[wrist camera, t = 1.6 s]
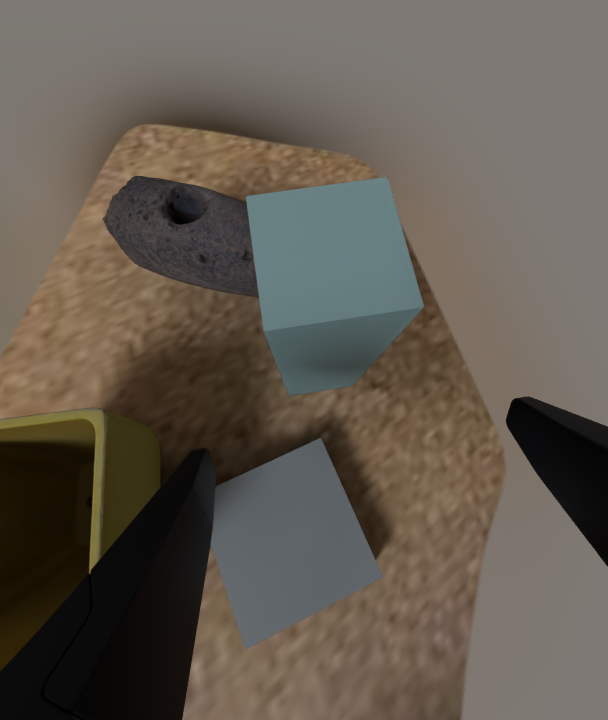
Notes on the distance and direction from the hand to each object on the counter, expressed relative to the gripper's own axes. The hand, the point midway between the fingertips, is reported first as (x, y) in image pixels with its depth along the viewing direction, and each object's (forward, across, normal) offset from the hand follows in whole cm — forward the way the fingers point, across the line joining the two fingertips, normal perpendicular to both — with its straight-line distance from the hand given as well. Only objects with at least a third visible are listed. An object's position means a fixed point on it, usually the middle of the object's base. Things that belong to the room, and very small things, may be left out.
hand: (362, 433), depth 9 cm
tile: (+5, +4, +12) cm, 13 cm away
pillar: (+12, 0, +5) cm, 13 cm away
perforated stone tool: (+17, +4, 0) cm, 18 cm away
